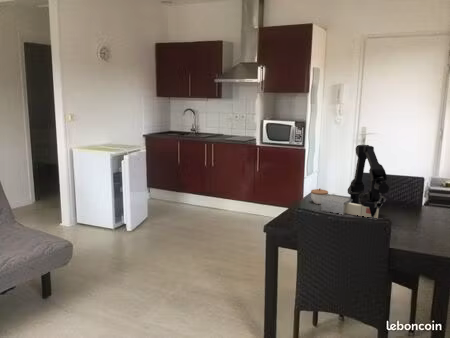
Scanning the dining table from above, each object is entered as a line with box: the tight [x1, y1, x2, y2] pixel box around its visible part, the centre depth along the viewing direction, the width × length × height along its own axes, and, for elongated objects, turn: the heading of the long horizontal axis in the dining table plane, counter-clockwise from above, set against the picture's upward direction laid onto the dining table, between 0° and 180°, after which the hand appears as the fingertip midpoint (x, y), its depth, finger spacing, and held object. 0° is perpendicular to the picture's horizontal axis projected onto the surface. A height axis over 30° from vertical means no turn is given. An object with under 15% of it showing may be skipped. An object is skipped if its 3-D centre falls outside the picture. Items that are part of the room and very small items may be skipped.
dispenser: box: [320, 194, 353, 216], centre depth 245 cm, size 11×15×8 cm
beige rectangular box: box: [345, 203, 380, 219], centre depth 236 cm, size 3×19×6 cm, turn 51°
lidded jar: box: [310, 188, 329, 205], centre depth 263 cm, size 11×11×9 cm
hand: (373, 216), depth 232 cm, fingers closed on beige rectangular box, 3 cm apart
